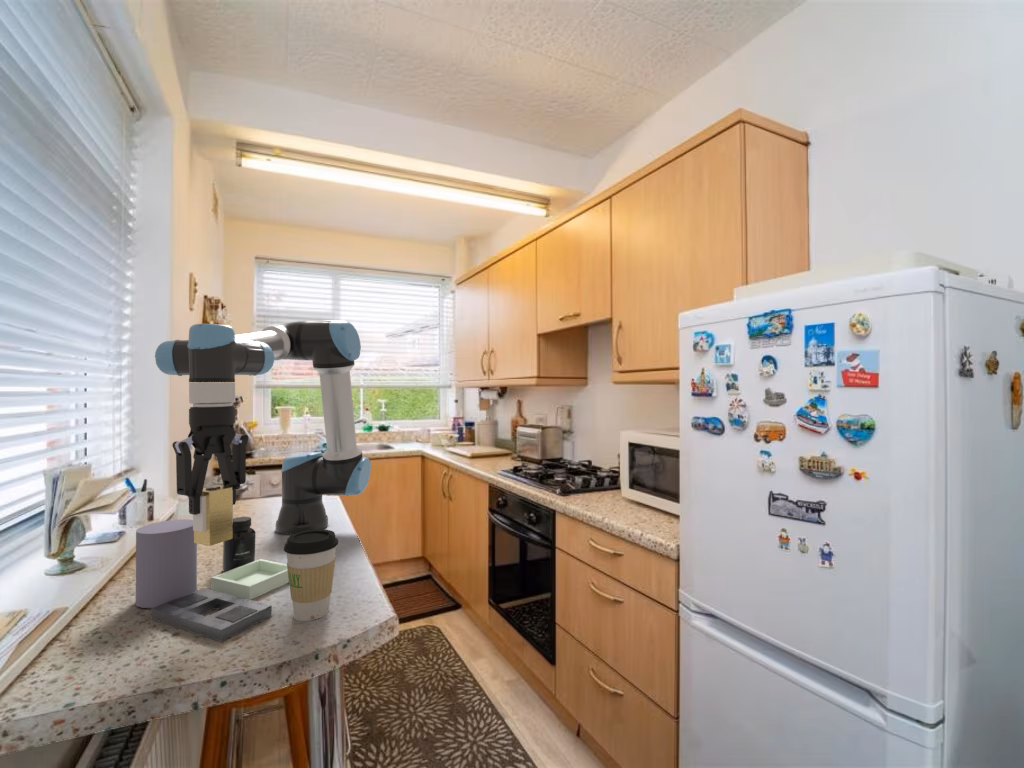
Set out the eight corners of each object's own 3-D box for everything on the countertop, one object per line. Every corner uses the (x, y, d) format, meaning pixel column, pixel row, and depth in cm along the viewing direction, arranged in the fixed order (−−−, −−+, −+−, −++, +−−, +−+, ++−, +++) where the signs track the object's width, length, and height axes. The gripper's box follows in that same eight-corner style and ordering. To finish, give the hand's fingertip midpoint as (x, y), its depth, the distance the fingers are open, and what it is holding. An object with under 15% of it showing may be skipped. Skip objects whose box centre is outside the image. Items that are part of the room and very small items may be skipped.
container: (205, 586, 104) (206, 518, 104) (181, 607, 94) (181, 532, 94) (153, 589, 102) (154, 520, 103) (123, 611, 92) (123, 535, 92)
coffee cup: (298, 601, 96) (299, 528, 97) (346, 602, 96) (346, 528, 96) (273, 625, 87) (273, 544, 87) (325, 626, 86) (325, 544, 86)
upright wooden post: (217, 535, 93) (216, 484, 93) (232, 538, 91) (232, 486, 91) (194, 542, 89) (193, 489, 89) (209, 546, 87) (209, 491, 87)
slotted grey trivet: (203, 597, 98) (203, 587, 98) (271, 615, 90) (271, 604, 90) (150, 619, 89) (150, 608, 89) (221, 641, 81) (221, 629, 81)
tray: (260, 570, 113) (260, 558, 113) (297, 578, 108) (297, 566, 108) (211, 590, 102) (211, 577, 102) (249, 600, 97) (249, 586, 97)
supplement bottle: (240, 575, 110) (240, 523, 110) (215, 572, 112) (215, 522, 112) (261, 564, 117) (261, 516, 117) (238, 562, 118) (238, 514, 118)
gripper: (241, 402, 100) (242, 512, 100) (150, 407, 83) (151, 538, 84) (266, 403, 97) (267, 516, 97) (176, 408, 81) (177, 543, 81)
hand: (213, 526), depth 90 cm, fingers closed on upright wooden post, 4 cm apart
